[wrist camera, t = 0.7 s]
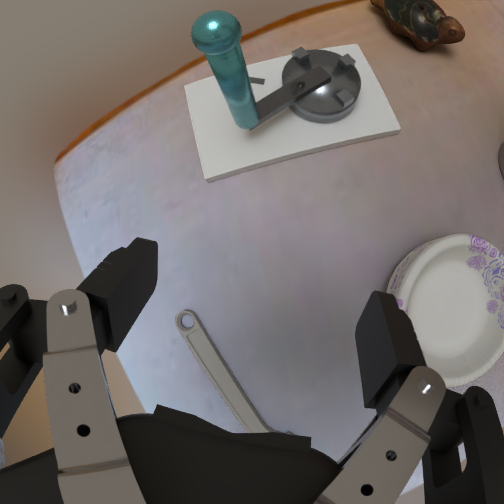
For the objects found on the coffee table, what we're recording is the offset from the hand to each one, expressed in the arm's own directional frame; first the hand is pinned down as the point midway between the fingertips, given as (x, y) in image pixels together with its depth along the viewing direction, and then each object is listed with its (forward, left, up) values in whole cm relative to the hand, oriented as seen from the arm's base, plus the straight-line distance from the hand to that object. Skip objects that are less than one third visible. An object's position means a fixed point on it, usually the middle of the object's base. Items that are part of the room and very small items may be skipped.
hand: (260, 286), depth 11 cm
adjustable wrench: (+8, +13, -24) cm, 29 cm away
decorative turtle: (-29, -30, -24) cm, 48 cm away
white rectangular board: (-6, -20, -23) cm, 31 cm away
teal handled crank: (-7, -19, -22) cm, 30 cm away
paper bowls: (-16, +8, -24) cm, 30 cm away
